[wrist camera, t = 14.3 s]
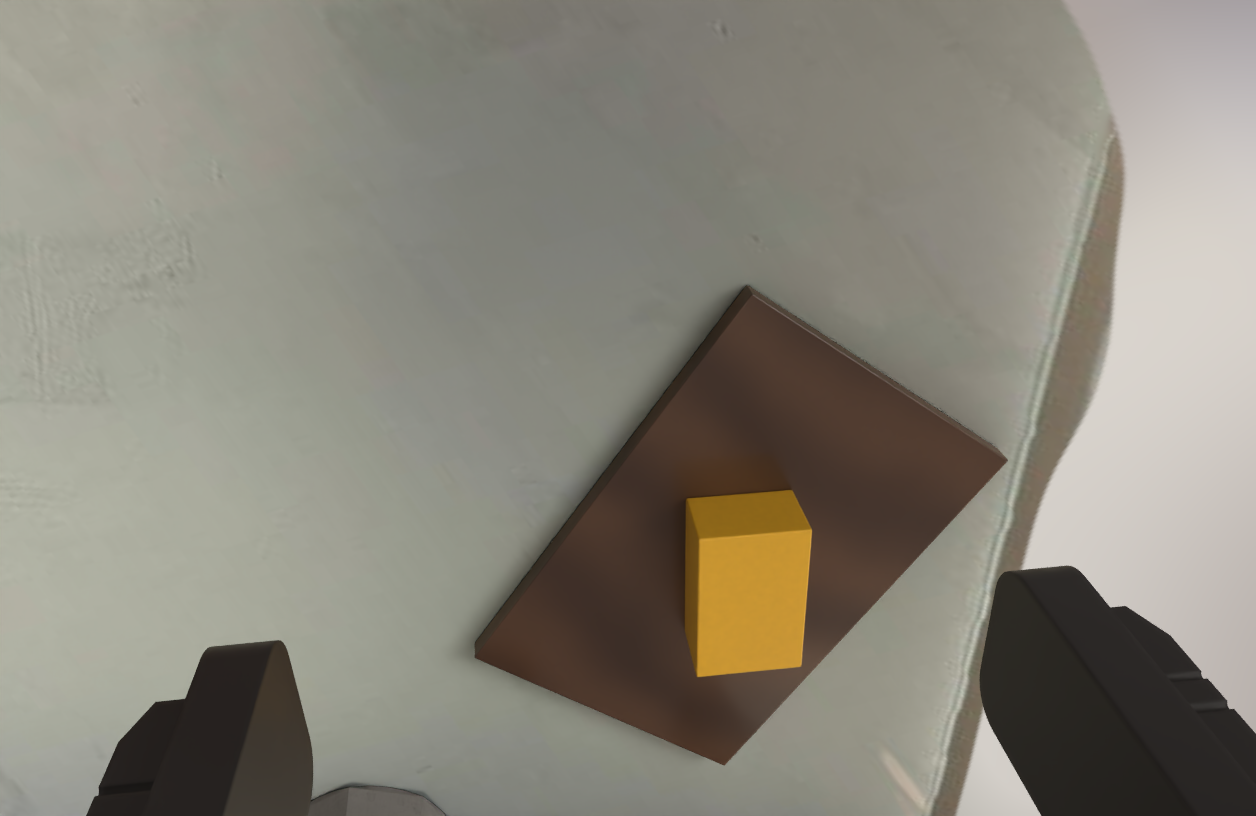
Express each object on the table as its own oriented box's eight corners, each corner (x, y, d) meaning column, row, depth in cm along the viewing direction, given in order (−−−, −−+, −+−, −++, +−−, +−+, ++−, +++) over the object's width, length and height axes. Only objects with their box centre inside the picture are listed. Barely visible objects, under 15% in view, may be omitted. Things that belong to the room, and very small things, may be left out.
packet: (685, 497, 41) (698, 539, 38) (792, 488, 41) (812, 529, 39) (684, 630, 44) (696, 678, 41) (783, 621, 44) (801, 667, 42)
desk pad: (746, 284, 38) (752, 293, 37) (998, 448, 43) (1008, 460, 42) (474, 643, 44) (473, 658, 43) (720, 750, 49) (724, 766, 48)
